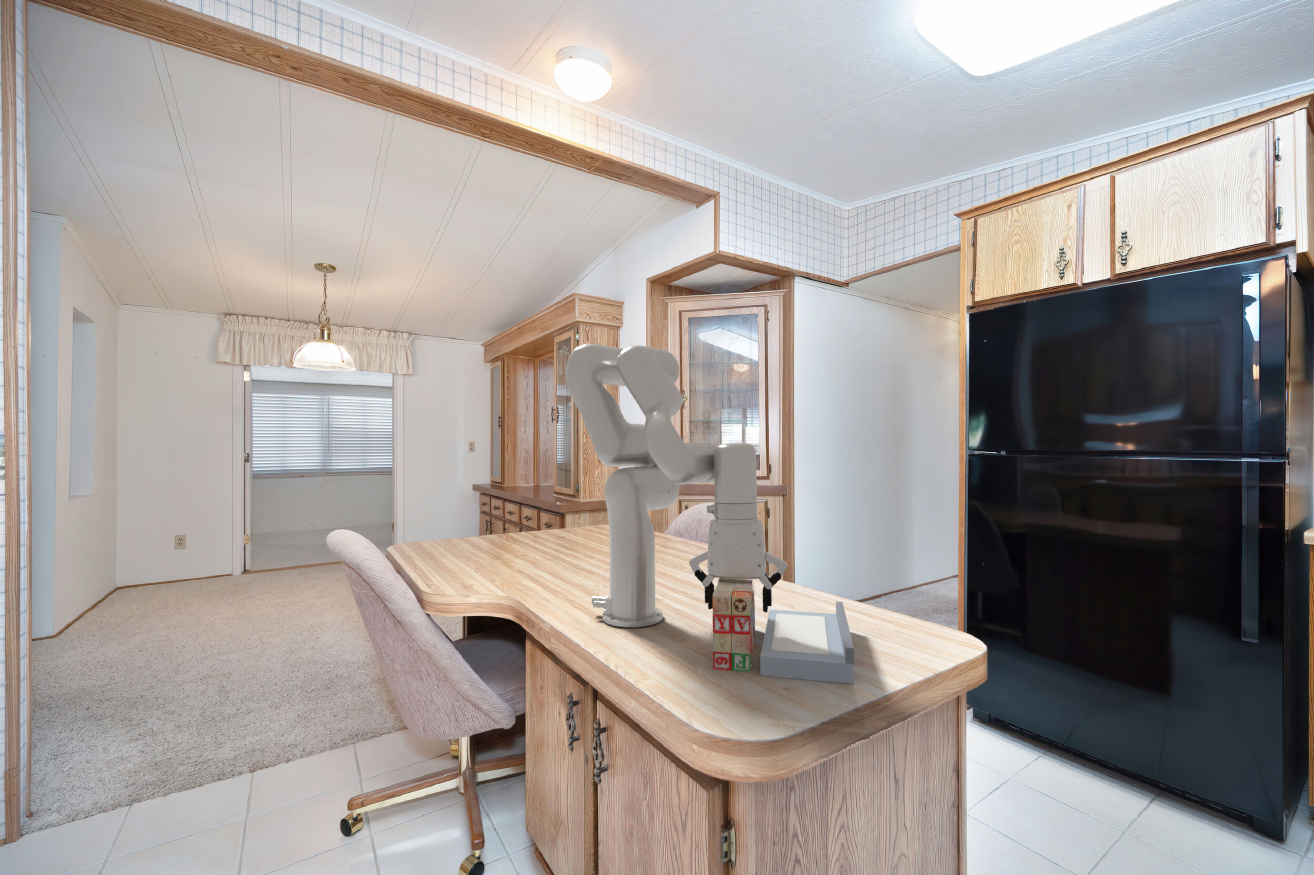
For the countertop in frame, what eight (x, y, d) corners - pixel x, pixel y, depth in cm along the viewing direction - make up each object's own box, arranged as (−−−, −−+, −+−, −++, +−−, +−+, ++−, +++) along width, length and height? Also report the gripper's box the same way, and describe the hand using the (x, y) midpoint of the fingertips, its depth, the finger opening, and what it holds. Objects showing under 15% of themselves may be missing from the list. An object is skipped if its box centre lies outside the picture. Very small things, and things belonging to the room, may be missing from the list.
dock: (760, 675, 89) (760, 640, 89) (769, 624, 114) (769, 597, 114) (854, 684, 86) (854, 648, 86) (842, 629, 111) (842, 601, 111)
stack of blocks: (723, 628, 113) (723, 566, 113) (755, 630, 111) (755, 567, 111) (712, 670, 92) (711, 593, 92) (751, 673, 90) (751, 595, 90)
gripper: (684, 514, 100) (686, 612, 99) (784, 515, 95) (787, 617, 95) (692, 509, 107) (694, 600, 107) (786, 510, 103) (788, 605, 102)
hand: (738, 608), depth 101 cm, fingers open, 9 cm apart
